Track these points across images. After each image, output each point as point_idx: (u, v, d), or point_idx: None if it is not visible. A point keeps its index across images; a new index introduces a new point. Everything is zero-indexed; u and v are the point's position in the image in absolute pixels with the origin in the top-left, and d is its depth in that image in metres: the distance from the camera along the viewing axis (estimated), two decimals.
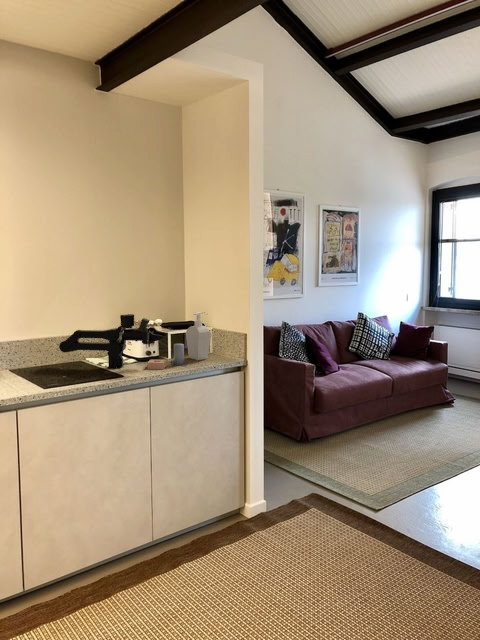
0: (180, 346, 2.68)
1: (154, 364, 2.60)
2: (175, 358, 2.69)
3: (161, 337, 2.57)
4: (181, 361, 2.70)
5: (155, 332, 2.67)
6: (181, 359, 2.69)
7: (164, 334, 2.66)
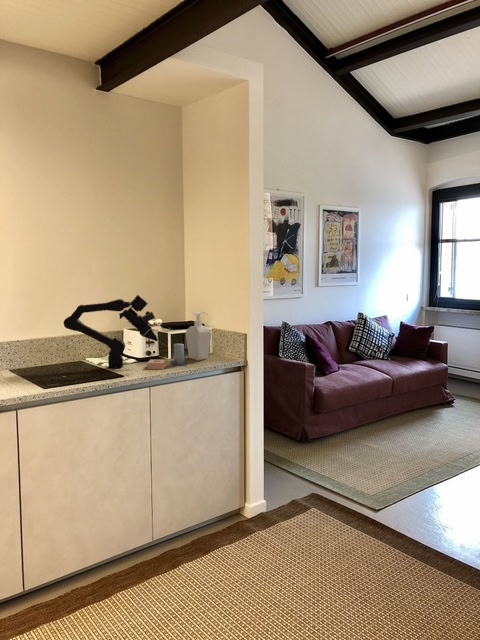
0: (180, 346, 2.68)
1: (154, 364, 2.60)
2: (175, 358, 2.69)
3: (155, 339, 2.61)
4: (181, 361, 2.70)
5: None
6: (181, 359, 2.69)
7: (154, 336, 2.71)
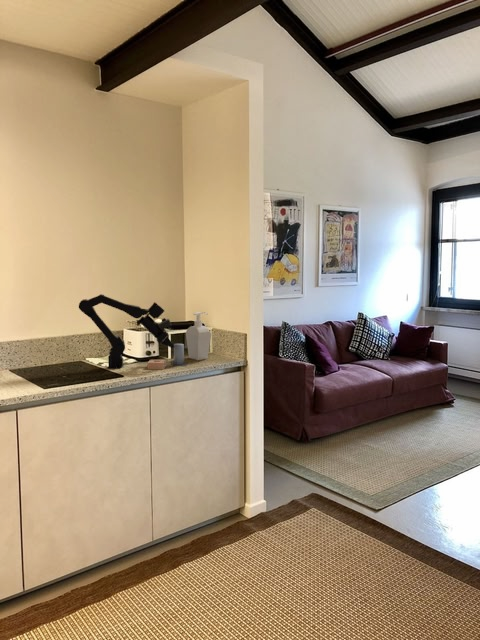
0: (180, 346, 2.68)
1: (154, 364, 2.60)
2: (175, 358, 2.69)
3: (172, 346, 2.65)
4: (181, 361, 2.70)
5: None
6: (181, 359, 2.69)
7: None
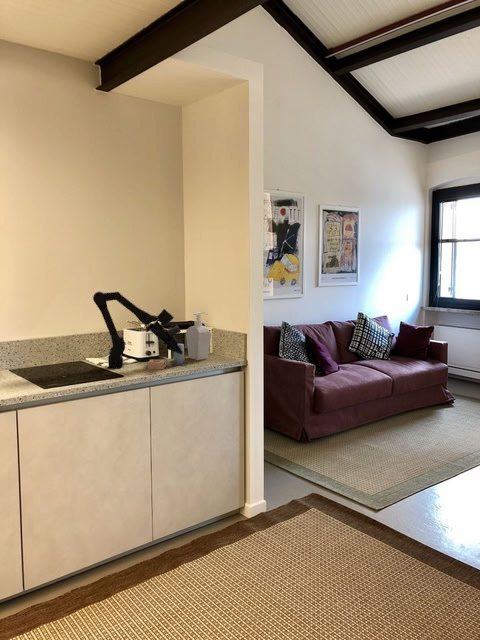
0: (180, 346, 2.68)
1: (154, 364, 2.60)
2: (175, 358, 2.69)
3: (180, 352, 2.68)
4: (181, 361, 2.70)
5: None
6: (181, 359, 2.69)
7: None
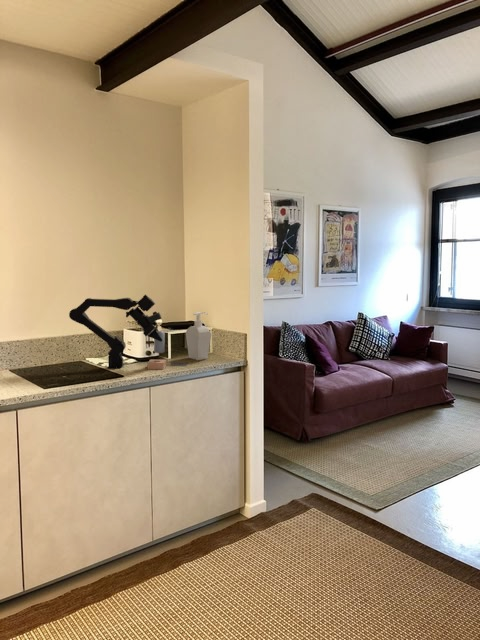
0: (160, 333, 2.62)
1: (154, 364, 2.60)
2: (155, 345, 2.63)
3: (159, 339, 2.62)
4: (161, 349, 2.63)
5: None
6: (161, 347, 2.63)
7: None
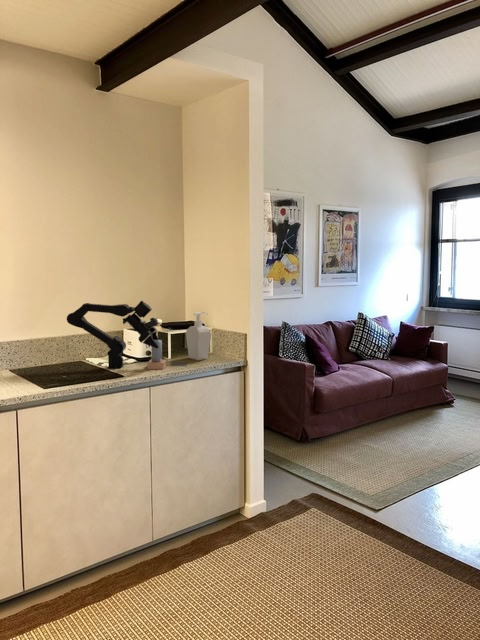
0: (156, 342, 2.60)
1: (154, 364, 2.60)
2: (152, 354, 2.62)
3: (155, 346, 2.58)
4: (158, 358, 2.61)
5: (154, 335, 2.67)
6: (158, 356, 2.61)
7: None
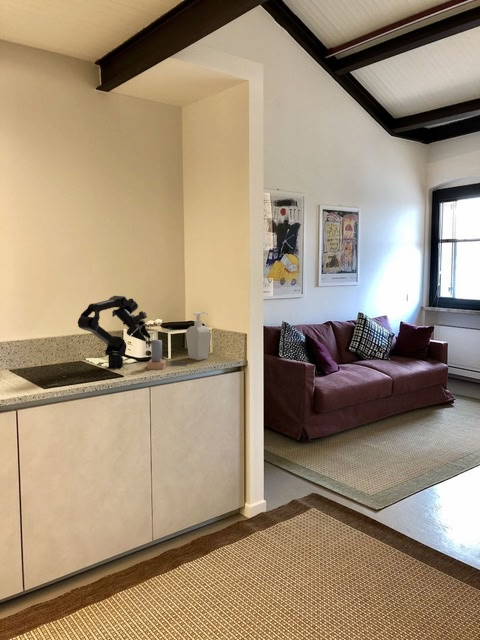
0: (156, 342, 2.60)
1: (154, 364, 2.60)
2: (152, 354, 2.62)
3: (144, 339, 2.63)
4: (158, 358, 2.61)
5: (143, 328, 2.72)
6: (158, 356, 2.61)
7: (148, 336, 2.72)
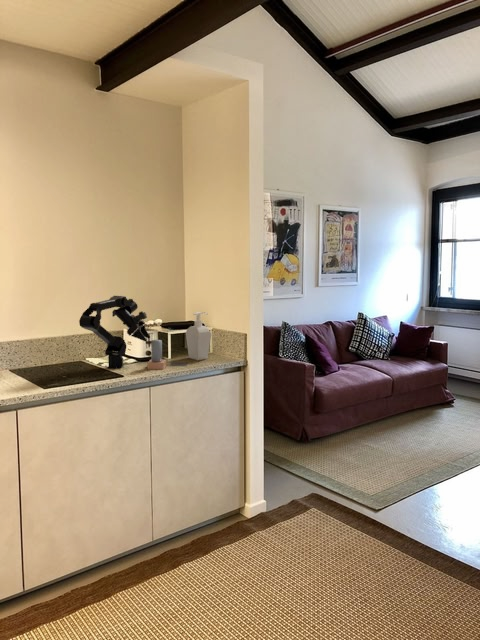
0: (156, 342, 2.60)
1: (154, 364, 2.60)
2: (152, 354, 2.62)
3: (144, 339, 2.63)
4: (158, 358, 2.61)
5: (142, 328, 2.73)
6: (158, 356, 2.61)
7: (147, 336, 2.73)
